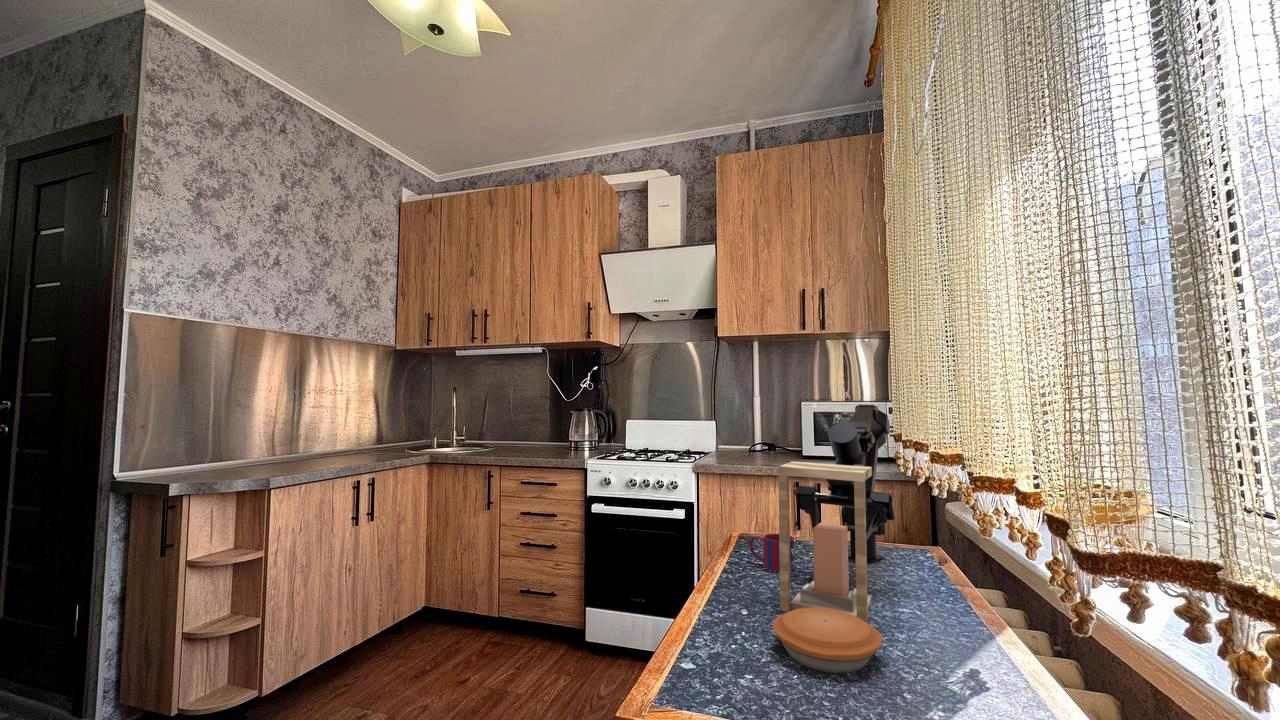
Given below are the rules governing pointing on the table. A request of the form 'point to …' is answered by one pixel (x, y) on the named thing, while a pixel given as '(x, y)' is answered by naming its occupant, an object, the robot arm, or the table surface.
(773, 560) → the mug
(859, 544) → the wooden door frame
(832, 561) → the block
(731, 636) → the table surface
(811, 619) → the pie
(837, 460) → the robot arm
